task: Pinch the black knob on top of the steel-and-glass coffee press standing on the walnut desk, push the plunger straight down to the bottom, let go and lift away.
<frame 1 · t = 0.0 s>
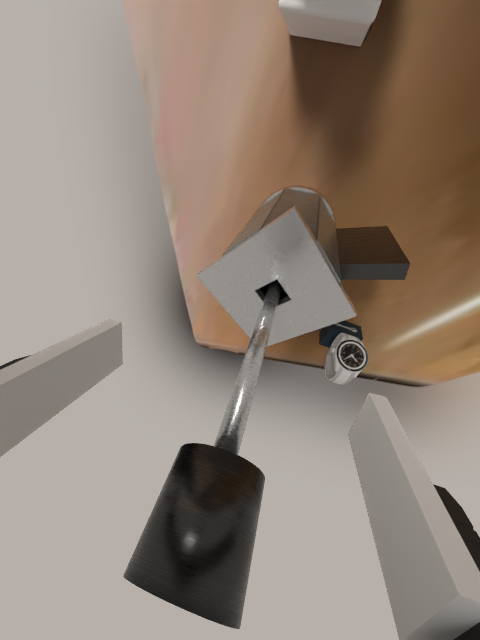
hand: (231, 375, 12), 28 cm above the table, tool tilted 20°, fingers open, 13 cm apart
watch: (339, 328, 42), on the table
plunger: (257, 345, 16), point 24 cm above the table, slide at 0.0 cm
press: (292, 230, 34), on the table
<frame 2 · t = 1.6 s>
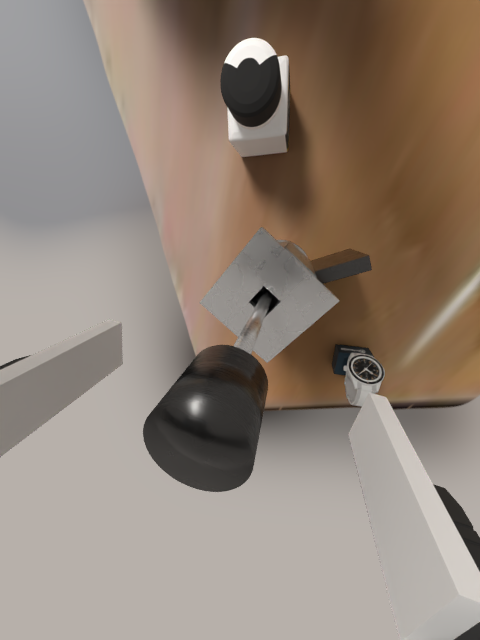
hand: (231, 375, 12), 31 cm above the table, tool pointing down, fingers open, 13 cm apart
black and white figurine: (264, 126, 33), on the table
watch: (349, 355, 43), on the table
plunger: (254, 324, 18), point 24 cm above the table, slide at 0.0 cm
press: (277, 273, 40), on the table
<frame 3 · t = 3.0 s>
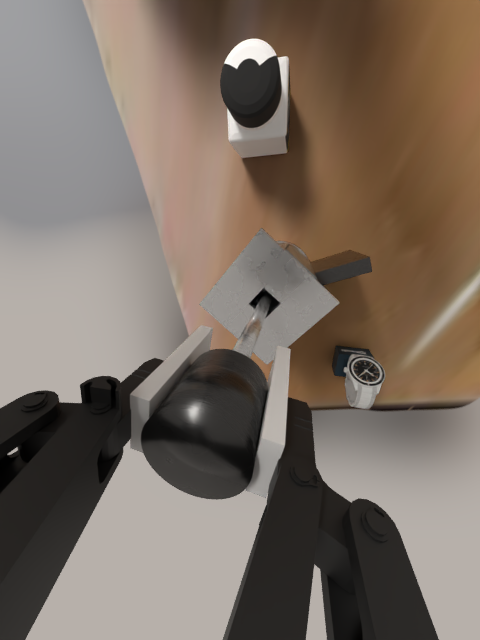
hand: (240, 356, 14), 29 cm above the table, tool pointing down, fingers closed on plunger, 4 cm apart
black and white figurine: (264, 127, 33), on the table
watch: (349, 356, 42), on the table
plunger: (253, 326, 18), point 24 cm above the table, slide at 0.0 cm, touching gripper
press: (277, 274, 40), on the table
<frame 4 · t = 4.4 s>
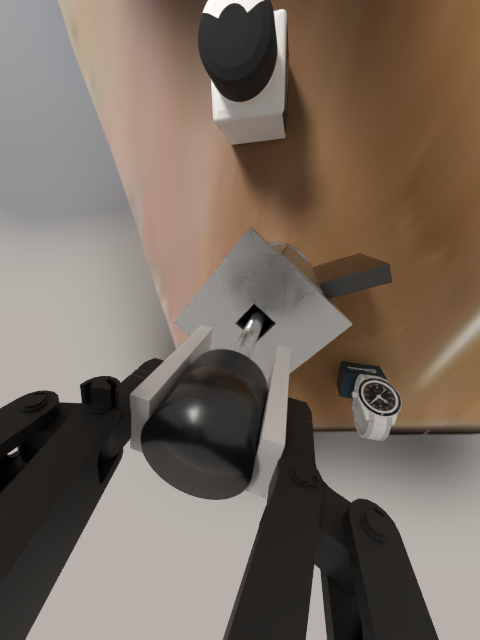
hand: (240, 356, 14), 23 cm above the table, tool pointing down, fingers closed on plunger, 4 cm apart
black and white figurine: (258, 107, 28), on the table
watch: (356, 374, 37), on the table
plunger: (253, 326, 18), point 18 cm above the table, slide at 5.7 cm, touching gripper
press: (274, 281, 35), on the table
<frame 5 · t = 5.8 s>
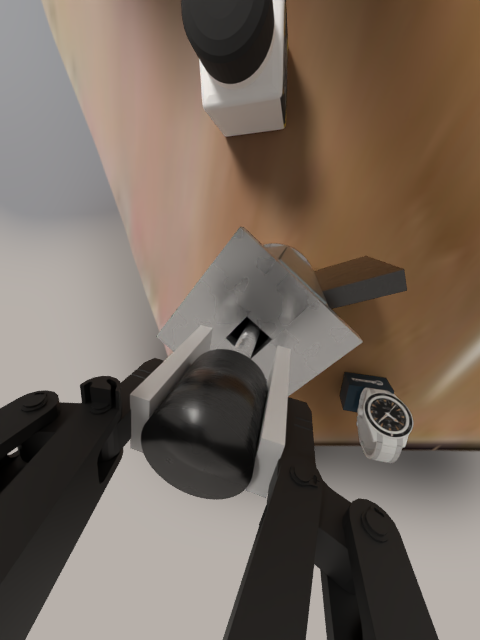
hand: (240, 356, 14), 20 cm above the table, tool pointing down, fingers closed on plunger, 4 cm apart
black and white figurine: (254, 95, 25), on the table
watch: (361, 385, 35), on the table
plunger: (253, 326, 18), point 15 cm above the table, slide at 8.7 cm, touching gripper
press: (272, 285, 32), on the table
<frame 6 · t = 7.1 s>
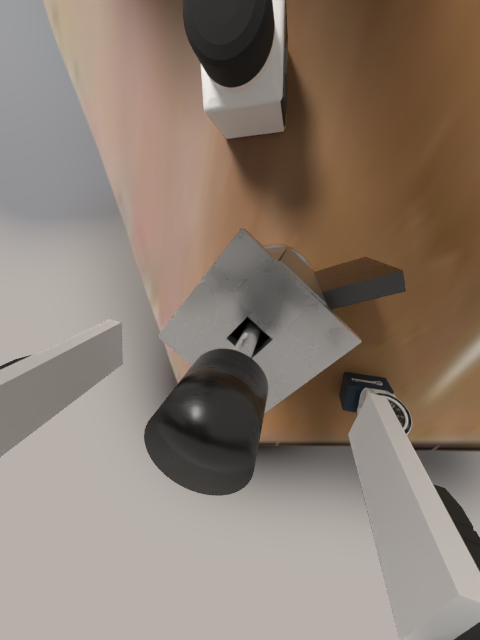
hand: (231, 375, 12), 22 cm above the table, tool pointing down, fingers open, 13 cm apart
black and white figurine: (254, 98, 26), on the table
watch: (360, 385, 35), on the table
plunger: (254, 327, 19), point 15 cm above the table, slide at 8.7 cm
press: (272, 286, 32), on the table
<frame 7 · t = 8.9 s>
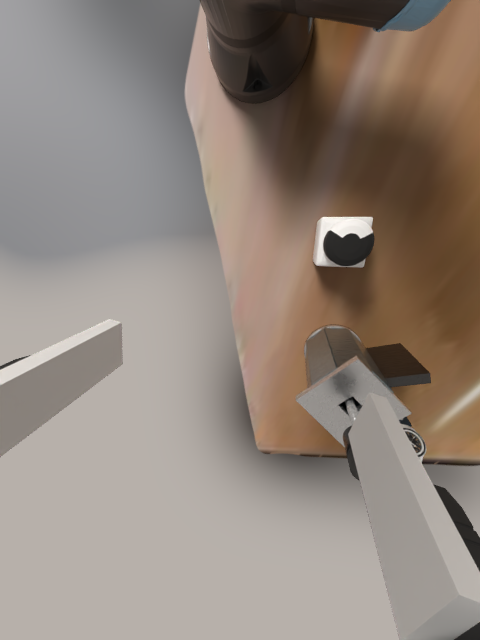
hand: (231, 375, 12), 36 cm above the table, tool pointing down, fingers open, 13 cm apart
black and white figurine: (335, 241, 41), on the table
watch: (387, 418, 50), on the table
plunger: (347, 396, 34), point 15 cm above the table, slide at 8.7 cm
press: (332, 350, 48), on the table
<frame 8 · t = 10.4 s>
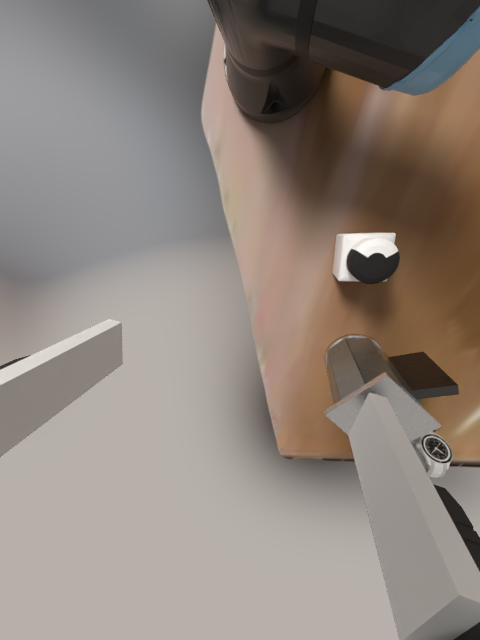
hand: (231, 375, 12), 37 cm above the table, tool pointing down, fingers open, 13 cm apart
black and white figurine: (354, 254, 42), on the table
watch: (409, 422, 51), on the table
press: (353, 358, 48), on the table
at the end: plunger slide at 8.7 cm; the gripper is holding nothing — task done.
